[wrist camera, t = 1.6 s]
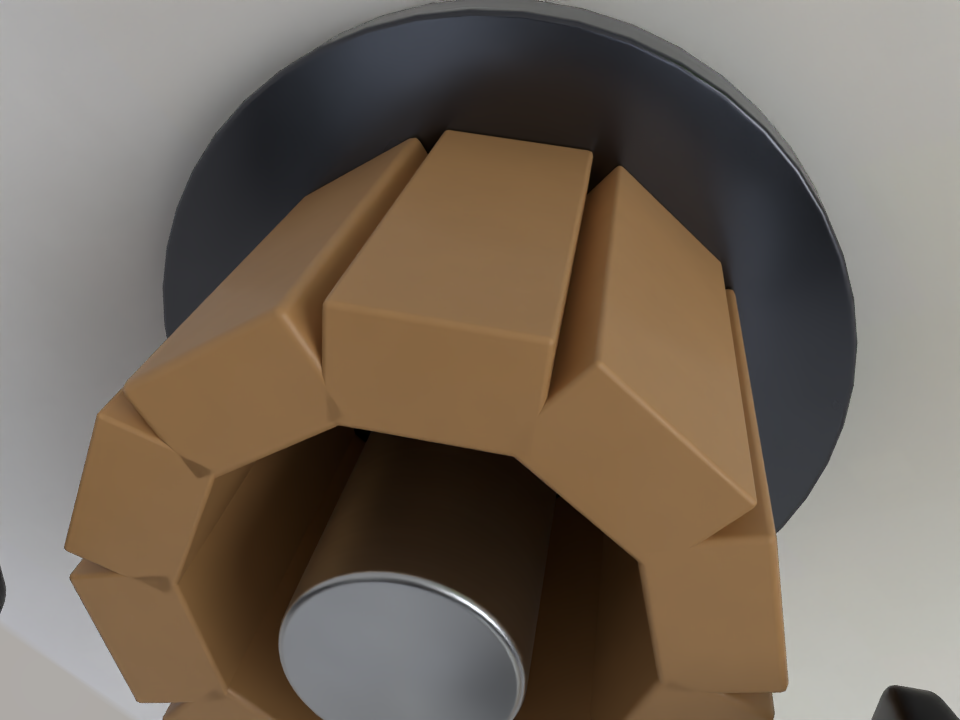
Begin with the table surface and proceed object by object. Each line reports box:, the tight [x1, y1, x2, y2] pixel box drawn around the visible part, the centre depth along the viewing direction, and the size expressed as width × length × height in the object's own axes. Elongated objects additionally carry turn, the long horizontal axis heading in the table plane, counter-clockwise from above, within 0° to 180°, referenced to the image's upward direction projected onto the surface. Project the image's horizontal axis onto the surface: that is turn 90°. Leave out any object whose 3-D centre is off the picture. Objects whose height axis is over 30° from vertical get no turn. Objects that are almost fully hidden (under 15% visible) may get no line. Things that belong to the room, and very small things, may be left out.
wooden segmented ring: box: [64, 130, 788, 720], centre depth 11 cm, size 7×7×5 cm
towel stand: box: [163, 0, 857, 720], centre depth 11 cm, size 10×10×6 cm
